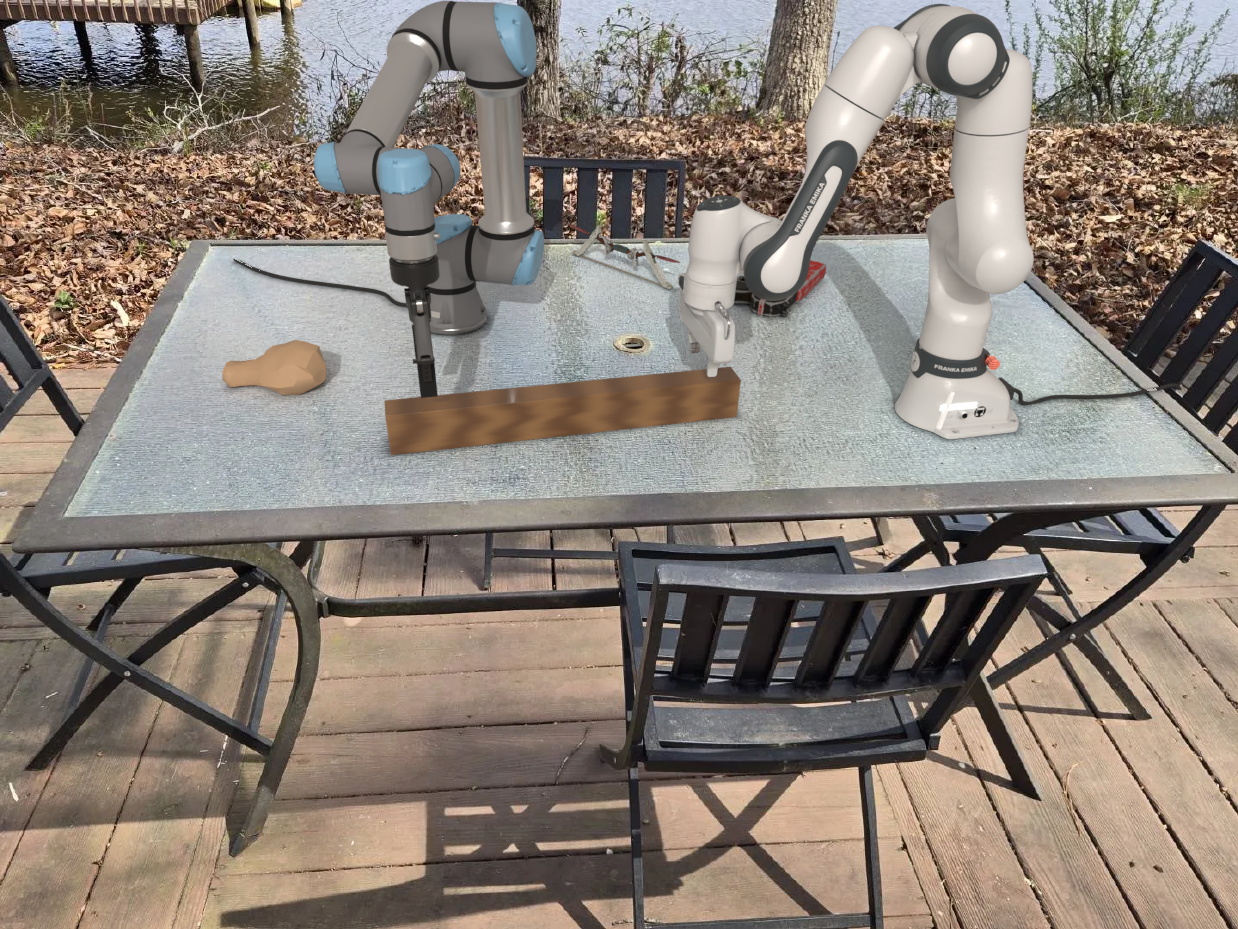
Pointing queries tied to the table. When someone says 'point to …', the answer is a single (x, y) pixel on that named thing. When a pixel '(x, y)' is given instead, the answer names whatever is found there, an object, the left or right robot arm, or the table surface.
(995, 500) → the table surface
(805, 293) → the gun
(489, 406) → the post
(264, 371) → the squash
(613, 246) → the bow
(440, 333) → the left robot arm
